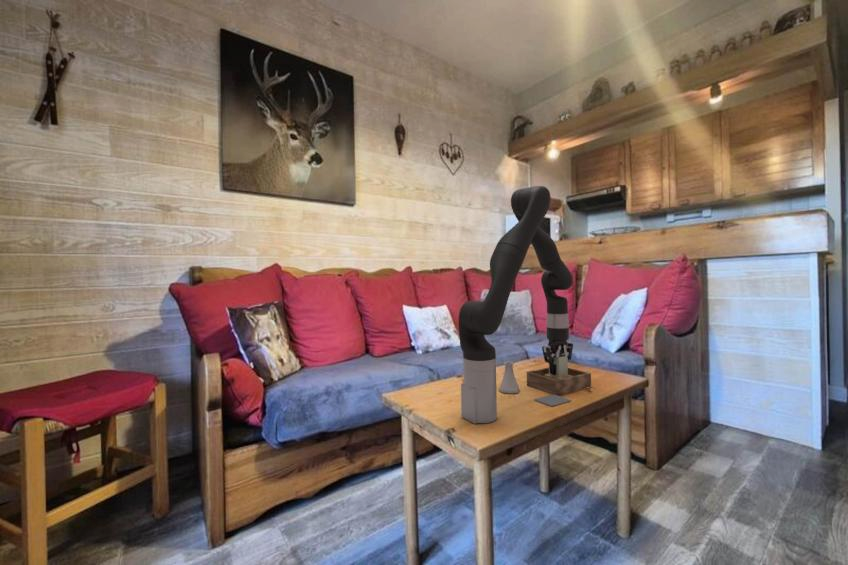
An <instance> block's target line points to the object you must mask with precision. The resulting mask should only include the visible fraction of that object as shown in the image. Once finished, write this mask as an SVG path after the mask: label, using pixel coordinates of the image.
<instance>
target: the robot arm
mask: <svg viewBox="0 0 848 565" xmlns="http://www.w3.org/2000/svg"><path fill="white" fill-rule="evenodd" d="M550 205H551V192H550V190H549V189H548V187H546V186H544V185H534V186H531V187H524V188H518V189H516V190H515V191H514V192H513V193H512V195H511V197H510V206H511V210H512V212H513V215H514V216H515V218H516V219H517V221H518V222H517V223H516V224H515V225H514V226H512V228H510V229H509V230H508V231H507V232H506V233H504V235H502V237H500V239H499V240H498V242H497V243H496V245H495V247H494V250H493V252H492V254H491V257H490V259H489V271H490V277H491V278H490V279H491V281H490V282H491V283H490V288H489V289H488V292H487V295H486V297H485V298H484V300H481V301H480V300H469V301H465V302H464V303H463V304H462V305H461V307H460V309H459V313H458V332H459V333H458V334H459V336H458V337H459V345H460V348H461V351H462V360H463V362H462V363H463V365H462V366H463V368H462V369H463V383H461V384H460V401H461V402H460V404H461V409H460V410H461V418H463V419H465V420H466V421H468V422H470V423H471V424H474V425H475V424H489V423H493V422H494V421H496V420H497V419H498V409H497V408H498V406H497V404H498V403H497V402H498V401H497V400H498V399H497V358H496V356H497V354H496V353H497V350H496V348H495V346H493V345H492V344H491V343H490V342H489V341H488V340H487V339H486V337H485V336H490V335H493V334H494V333H496V332H497V331H498V330H499V328H500V325H501V324H502V322H503V317H504V315H505V314H504V313H505V311H506V307H507V304H508V300H509V297H510V295H511V293H512V290H513V287H514V284H515V282H516V280H517V277H518V274H519V271H520V270H521V267H522V266H523V263H524V261H525V259H526V256H527V254H528V250H529V248H530V246H532V248H533V250H534V252H535V255H536V258H537V260H538V263H539V266H540V267H541V269H542V270H545V271H544V272H543V273H542V275H541V278H540V283H541V287H542V289H543V293H544V297H545V301H546V322H545V323H546V339H547V340H548V344H547V345H546V346H542V347H541V349H542V354H543V360H544V362H545V363H547V364H548V367H550V374H552V375H556V361H557V358H558V357H559V355H562V356H568V361H570V360H571V359H572V355H573V348H574V343H572V342H568V340H569V339H570V322H569V320H570V319H569V308H568V307H569V306H568V305H569V304H568V299H567V298H566V297H564V296H561V295H558V294H557V293H556V291H567V290H569V289H571V288H572V285H573V282H574V279H573V278H574V277H573V275H572V272H571V271H570V270H569V268H568V266H567V265H566V264H565V263H564V261H563V260H562V258H561V256H560V253H559V250H558V247H557V245H556V243H555V241H554V240H553V238H552V237H551V236H550V235H549V234H548V233H547V232H546V231H544V229H543V228H541V224H542V222H543V220H544V219H545V216H546V215H547V214H548V211H549V208H550ZM552 357H554V359H553V360H552Z"/></svg>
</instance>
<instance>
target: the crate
mask: <svg viewBox="0 0 848 565" xmlns="http://www.w3.org/2000/svg"><path fill="white" fill-rule="evenodd" d="M526 386H528V387H530V388H533V389H536V390H539V391H541V392H545V393H548V394H550V395H552V394H555V395H558V396H561V397H562V396H564V395H567V394H572V393H575V392H574V391H576V392H578V391H577V390H579V391H582V390H581V389H583V390H585V389H584V388H587V387H590V386H591V387H592V373H591V372H587V371H583V370H579V369H574V368H571V367H568V376H565V377H561V378H558V377H555V376H551V375H549V366H547V367H543V368H539V369H534V370H530V371H529V370H528V371H526ZM587 389H588V388H587ZM571 392H572V393H571Z"/></svg>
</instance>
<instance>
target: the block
mask: <svg viewBox="0 0 848 565" xmlns="http://www.w3.org/2000/svg"><path fill="white" fill-rule="evenodd" d="M553 359H554V357H552V360H553ZM568 361H569V360H568V355H567V356H562V355H559V357H558V358H557V361H556V375H552V374H550V367H549V366H548V367H549V375H551V376H555V377H558V378H561V377H565V376H568V368H569V367H568V366H569V365H568V364H569V362H568Z"/></svg>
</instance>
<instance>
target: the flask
mask: <svg viewBox="0 0 848 565" xmlns="http://www.w3.org/2000/svg"><path fill="white" fill-rule="evenodd" d="M503 364H504V371H503V372H504V373H503V376H502V380H501V383H500V385H499V389H498V391H500V393H502V394H519V393H520V391H521V390H520V387H519V385H518V382H517V379H516V377H515V373H514V366H513V365H514V362H513V361H504V362H503Z"/></svg>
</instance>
